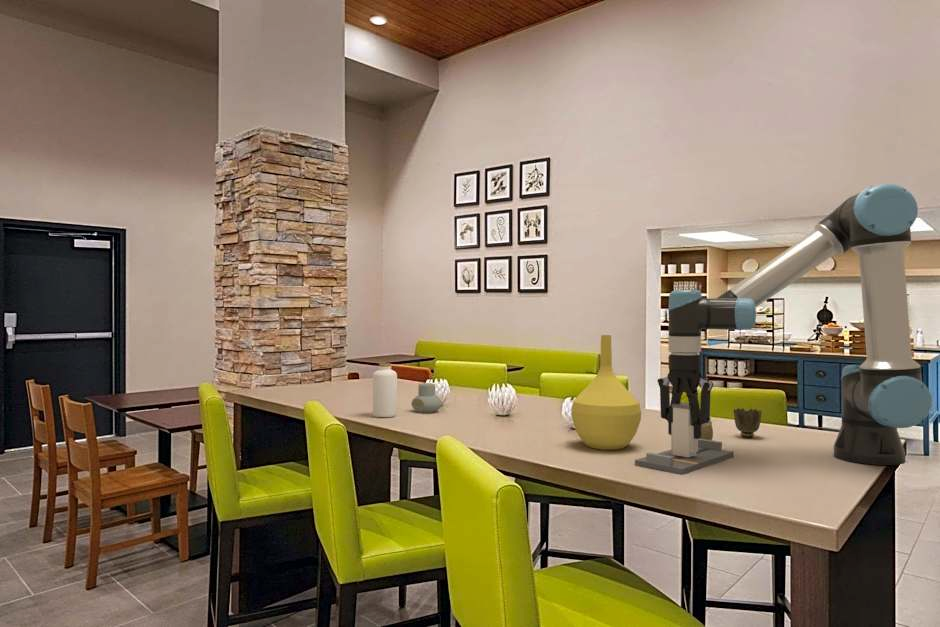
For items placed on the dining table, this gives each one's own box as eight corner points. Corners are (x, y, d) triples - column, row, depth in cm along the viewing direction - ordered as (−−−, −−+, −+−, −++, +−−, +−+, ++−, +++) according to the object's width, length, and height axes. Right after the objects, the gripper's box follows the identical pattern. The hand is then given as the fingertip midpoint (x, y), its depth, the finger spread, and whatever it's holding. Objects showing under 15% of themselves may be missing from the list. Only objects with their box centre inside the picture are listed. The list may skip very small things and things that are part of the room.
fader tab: (680, 452, 160) (680, 402, 160) (697, 454, 157) (697, 404, 157) (671, 454, 157) (671, 404, 157) (688, 457, 154) (688, 405, 154)
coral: (727, 421, 174) (693, 405, 174) (710, 454, 175) (677, 439, 174) (714, 412, 183) (682, 398, 183) (699, 444, 184) (667, 430, 184)
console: (688, 448, 170) (688, 436, 170) (733, 456, 162) (733, 443, 162) (634, 465, 152) (634, 451, 152) (682, 474, 144) (682, 460, 144)
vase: (557, 446, 173) (558, 335, 173) (594, 436, 187) (594, 333, 187) (618, 457, 161) (619, 337, 161) (653, 446, 174) (653, 335, 174)
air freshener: (408, 411, 233) (408, 383, 233) (426, 409, 239) (426, 381, 239) (427, 415, 225) (427, 386, 225) (445, 412, 231) (445, 384, 231)
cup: (733, 438, 184) (733, 410, 184) (733, 434, 191) (733, 407, 191) (762, 440, 182) (762, 412, 181) (760, 436, 188) (761, 408, 188)
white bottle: (395, 418, 217) (395, 364, 217) (370, 418, 218) (370, 364, 217) (398, 414, 226) (398, 362, 226) (374, 414, 226) (374, 362, 226)
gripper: (726, 354, 153) (726, 453, 153) (660, 351, 165) (660, 443, 166) (711, 356, 148) (711, 458, 148) (645, 352, 160) (644, 447, 160)
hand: (684, 450), depth 157 cm, fingers closed on fader tab, 4 cm apart
